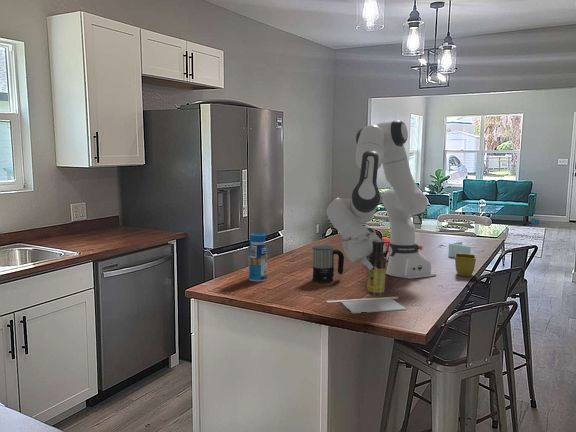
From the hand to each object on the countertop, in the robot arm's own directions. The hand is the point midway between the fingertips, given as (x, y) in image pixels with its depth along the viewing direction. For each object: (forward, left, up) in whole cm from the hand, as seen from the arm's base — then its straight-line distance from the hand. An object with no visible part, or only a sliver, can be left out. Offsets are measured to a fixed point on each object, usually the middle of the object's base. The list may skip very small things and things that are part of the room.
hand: (378, 266), depth 177 cm
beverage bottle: (+36, -46, -15) cm, 61 cm away
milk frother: (+7, -43, -15) cm, 46 cm away
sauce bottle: (0, -1, -11) cm, 11 cm away
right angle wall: (-80, -73, -15) cm, 109 cm away
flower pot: (-57, -36, -15) cm, 69 cm away
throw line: (+2, -8, -15) cm, 17 cm away
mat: (+1, 0, -15) cm, 15 cm away
